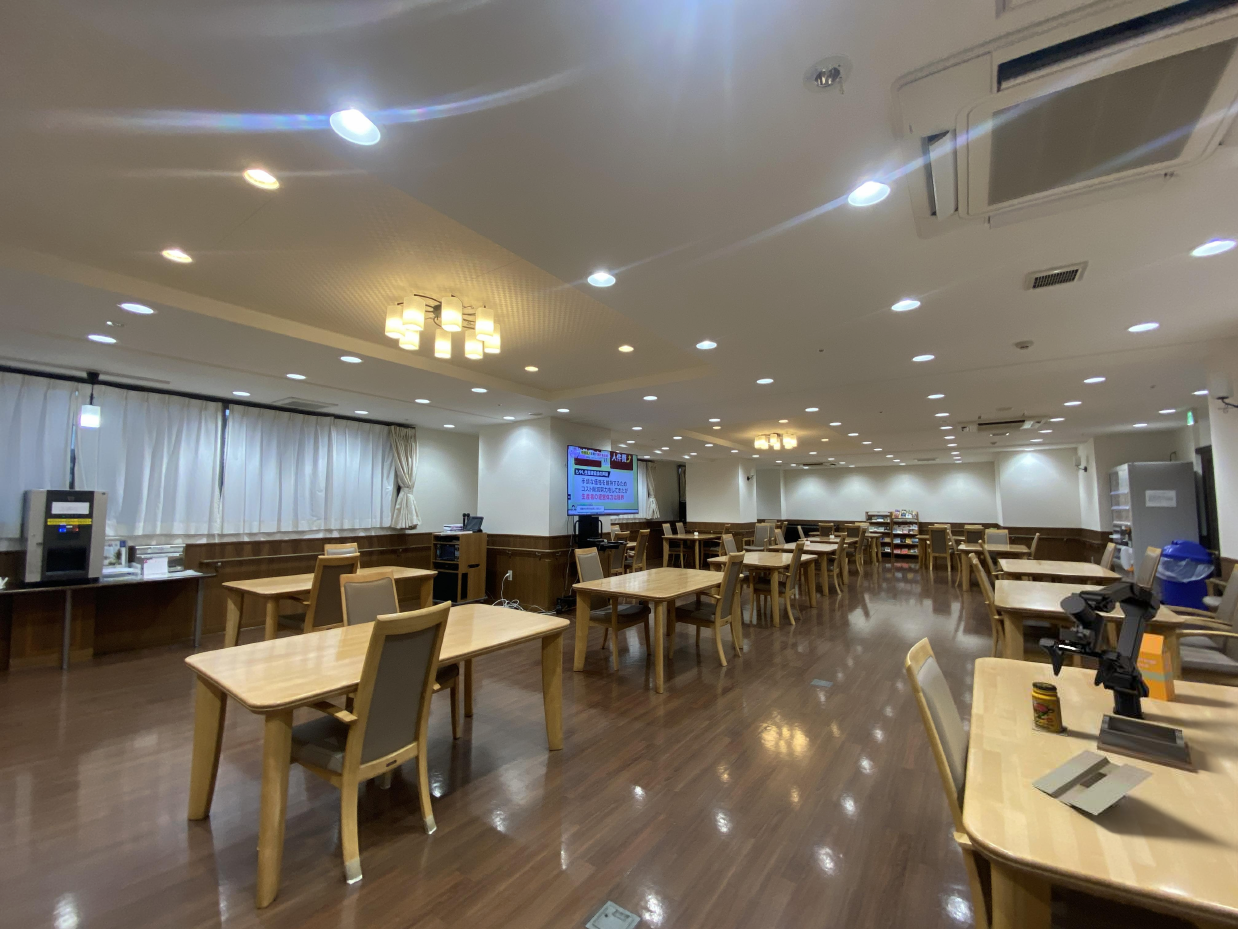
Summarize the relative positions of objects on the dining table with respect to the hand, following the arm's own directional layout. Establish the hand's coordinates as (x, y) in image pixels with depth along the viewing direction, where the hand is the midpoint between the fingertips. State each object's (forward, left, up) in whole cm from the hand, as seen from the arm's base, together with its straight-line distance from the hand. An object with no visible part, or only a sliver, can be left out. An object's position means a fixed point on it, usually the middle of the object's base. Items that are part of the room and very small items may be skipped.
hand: (1075, 680), depth 139 cm
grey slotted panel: (+48, +5, -13) cm, 50 cm away
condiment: (+6, -6, -13) cm, 16 cm away
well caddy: (+4, +12, -13) cm, 18 cm away
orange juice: (-52, +14, -13) cm, 55 cm away
